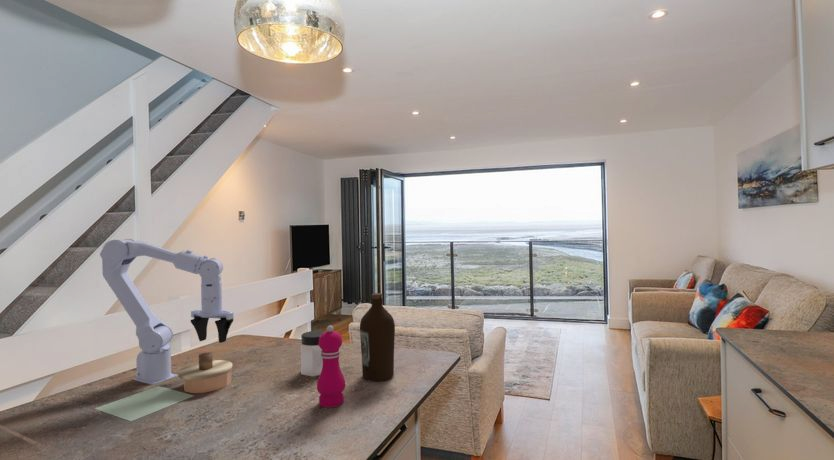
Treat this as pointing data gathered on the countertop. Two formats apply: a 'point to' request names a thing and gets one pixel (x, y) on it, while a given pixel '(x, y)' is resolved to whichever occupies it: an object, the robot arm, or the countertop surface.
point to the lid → (205, 368)
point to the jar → (311, 354)
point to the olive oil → (377, 341)
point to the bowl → (207, 383)
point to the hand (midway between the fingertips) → (212, 341)
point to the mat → (144, 403)
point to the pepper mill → (330, 370)
